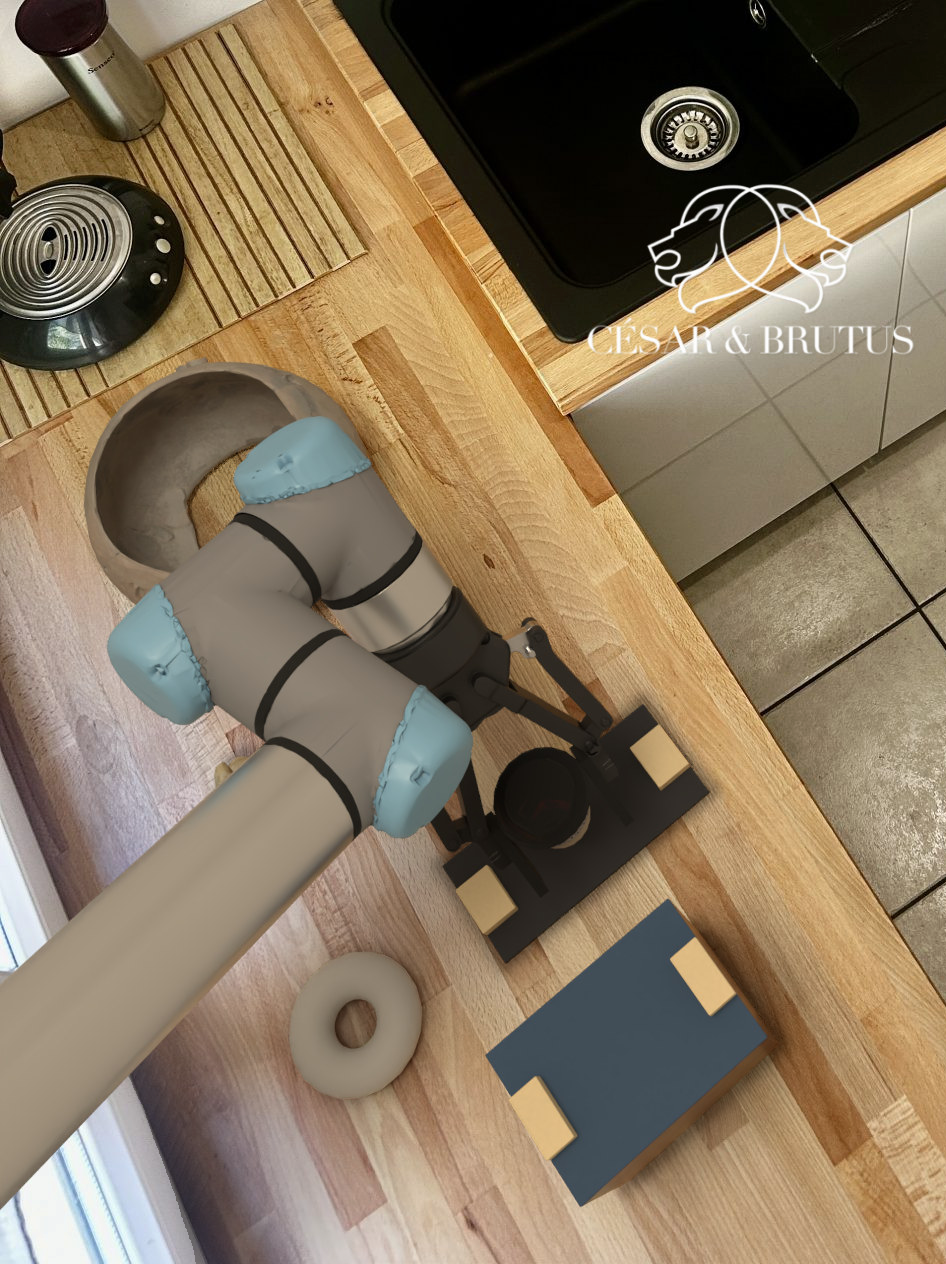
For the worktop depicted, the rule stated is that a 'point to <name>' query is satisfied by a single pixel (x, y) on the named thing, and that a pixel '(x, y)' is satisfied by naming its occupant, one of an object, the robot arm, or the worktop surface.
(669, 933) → the blue slab
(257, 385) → the bowl
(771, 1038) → the stand
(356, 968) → the donut
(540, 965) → the worktop surface
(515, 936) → the mat
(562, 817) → the coffee cup
